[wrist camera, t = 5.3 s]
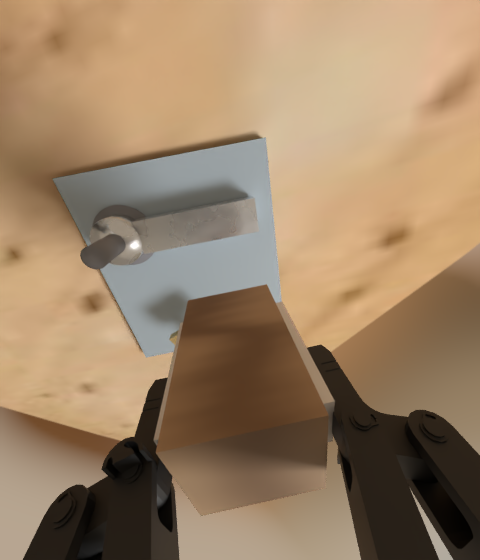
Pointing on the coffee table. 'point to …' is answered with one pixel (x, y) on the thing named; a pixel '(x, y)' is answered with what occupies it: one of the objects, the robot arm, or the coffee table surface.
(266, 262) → the board
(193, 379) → the block
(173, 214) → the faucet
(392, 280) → the coffee table surface
